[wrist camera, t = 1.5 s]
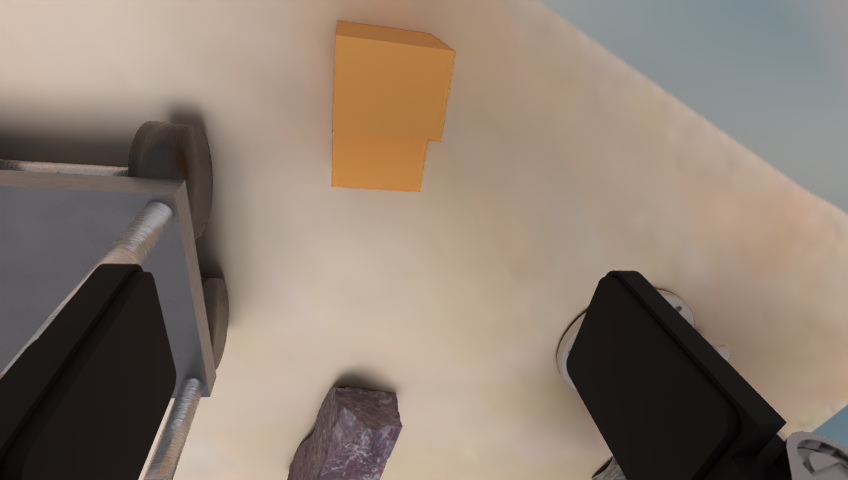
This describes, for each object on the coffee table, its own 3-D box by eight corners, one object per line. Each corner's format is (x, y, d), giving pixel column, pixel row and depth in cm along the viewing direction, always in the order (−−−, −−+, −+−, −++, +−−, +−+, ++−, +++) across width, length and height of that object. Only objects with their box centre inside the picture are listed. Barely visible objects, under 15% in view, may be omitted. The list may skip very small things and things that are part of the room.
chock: (429, 33, 24) (455, 51, 18) (411, 168, 28) (428, 216, 22) (337, 20, 23) (335, 34, 17) (332, 163, 27) (329, 211, 21)
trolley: (214, 111, 24) (-10, 352, 9) (238, 327, 32) (143, 645, 17) (-92, 84, 21) (-1202, 370, 6) (19, 328, 29) (-332, 712, 14)
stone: (354, 484, 28) (255, 597, 33) (431, 495, 30) (329, 597, 35) (342, 360, 36) (266, 465, 41) (403, 377, 39) (325, 473, 44)
